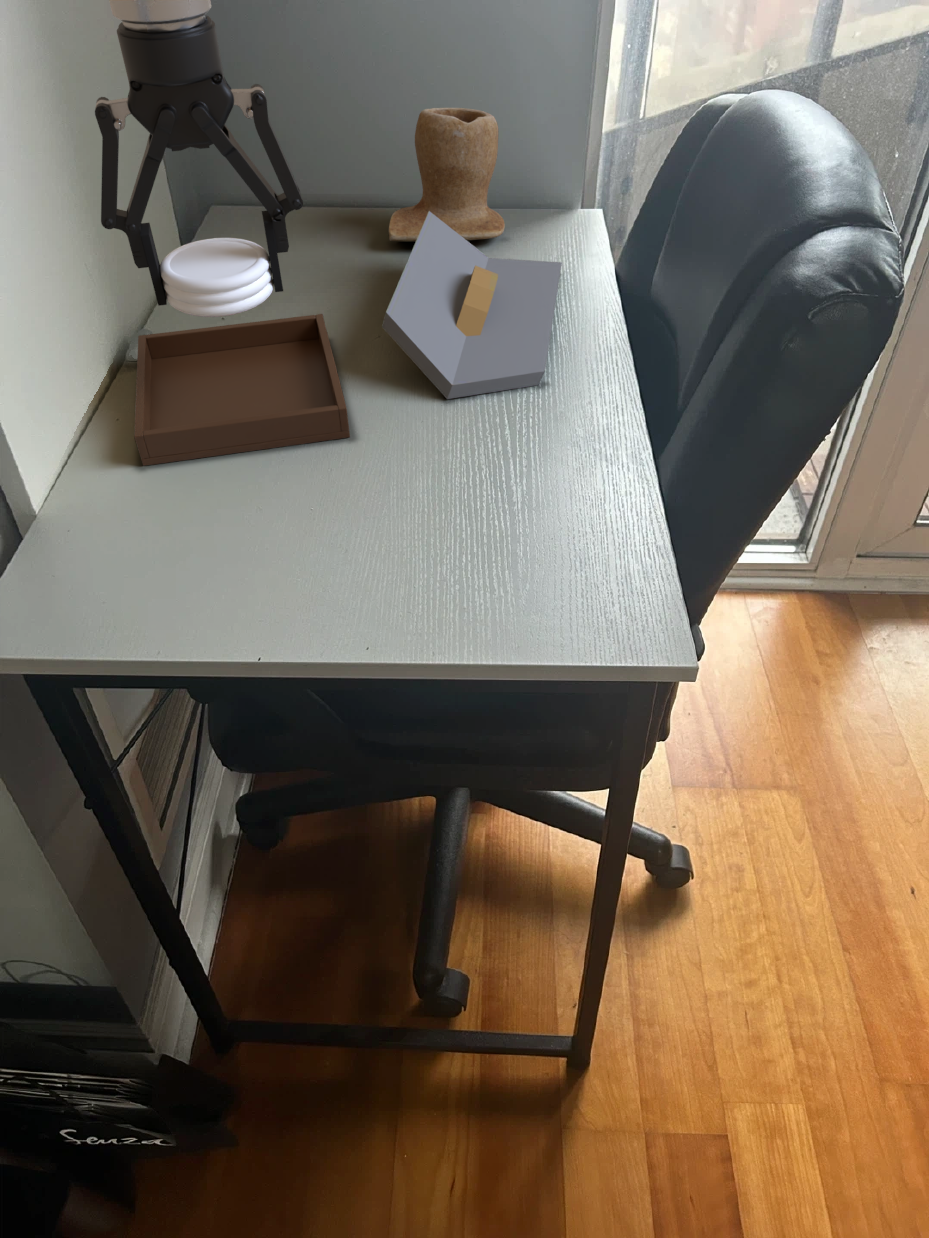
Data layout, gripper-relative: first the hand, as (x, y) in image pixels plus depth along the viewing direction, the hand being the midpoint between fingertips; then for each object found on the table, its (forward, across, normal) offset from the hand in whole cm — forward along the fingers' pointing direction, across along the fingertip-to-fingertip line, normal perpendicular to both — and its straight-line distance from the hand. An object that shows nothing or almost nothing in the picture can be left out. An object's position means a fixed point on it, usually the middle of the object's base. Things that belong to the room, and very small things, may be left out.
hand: (220, 292), depth 89 cm
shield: (+12, -27, -8) cm, 30 cm away
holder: (+11, 0, 0) cm, 11 cm away
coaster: (0, 0, 0) cm, 0 cm away
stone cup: (+12, -29, -35) cm, 47 cm away
